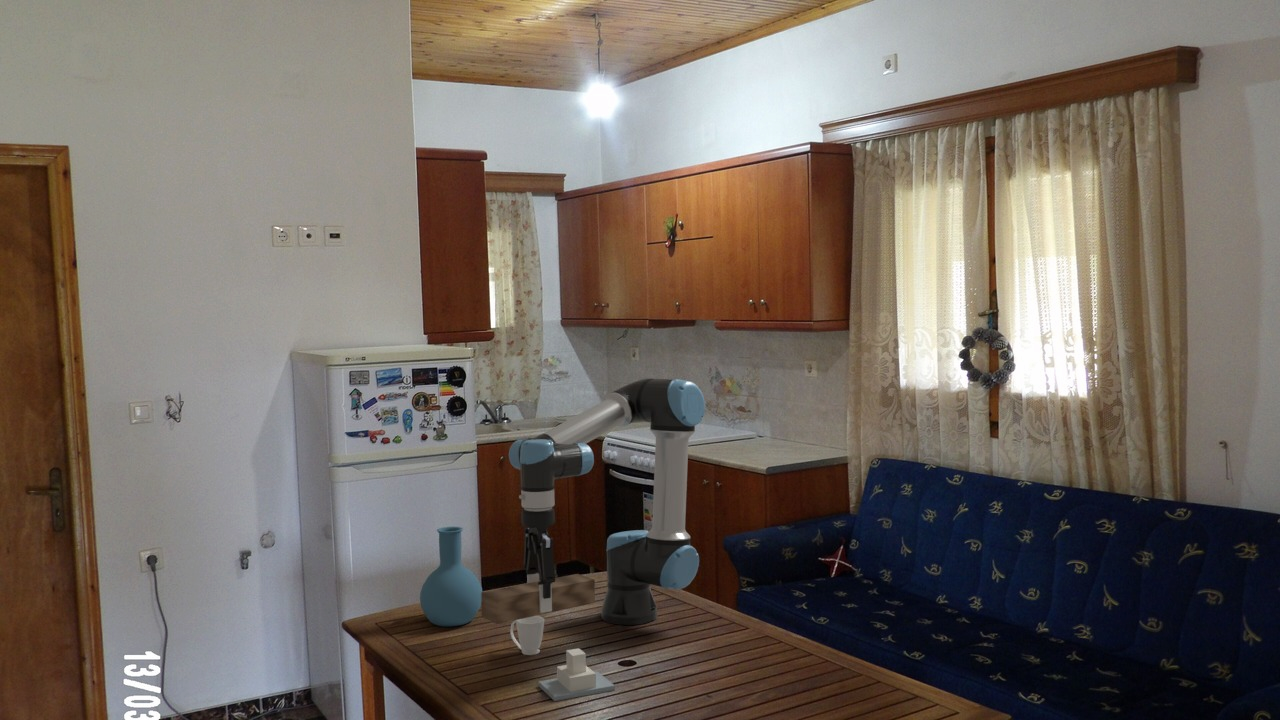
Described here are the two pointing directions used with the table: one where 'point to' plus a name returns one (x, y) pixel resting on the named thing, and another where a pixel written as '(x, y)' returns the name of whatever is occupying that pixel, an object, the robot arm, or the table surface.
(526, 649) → the cup
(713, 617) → the table surface
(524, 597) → the beam
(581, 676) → the fulcrum
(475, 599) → the vase
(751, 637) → the table surface
